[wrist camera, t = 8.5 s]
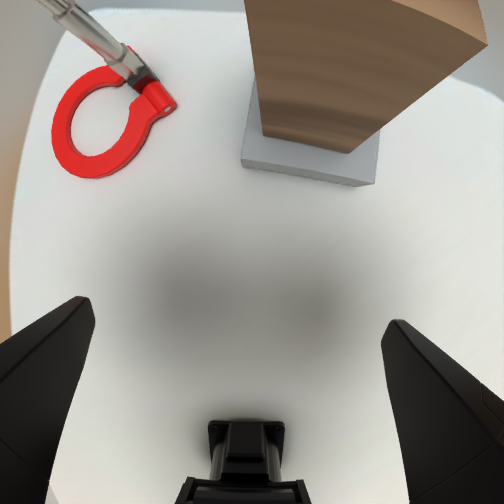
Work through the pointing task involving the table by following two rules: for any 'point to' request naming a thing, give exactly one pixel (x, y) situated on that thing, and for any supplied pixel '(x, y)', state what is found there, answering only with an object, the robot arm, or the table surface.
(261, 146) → the grey plinth
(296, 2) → the walnut pillar
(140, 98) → the tow hook
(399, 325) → the robot arm
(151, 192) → the table surface
